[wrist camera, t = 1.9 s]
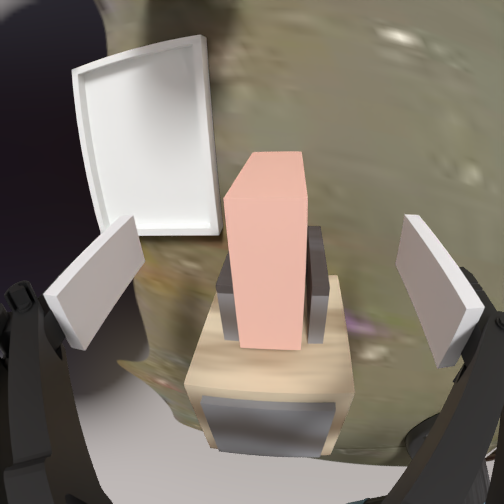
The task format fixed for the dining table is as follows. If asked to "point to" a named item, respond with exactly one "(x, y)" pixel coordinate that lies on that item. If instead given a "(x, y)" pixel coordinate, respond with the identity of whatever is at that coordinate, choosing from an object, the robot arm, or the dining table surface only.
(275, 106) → the dining table surface
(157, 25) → the dining table surface
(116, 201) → the tray
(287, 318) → the tall salmon pink block
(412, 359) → the dining table surface
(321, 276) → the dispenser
